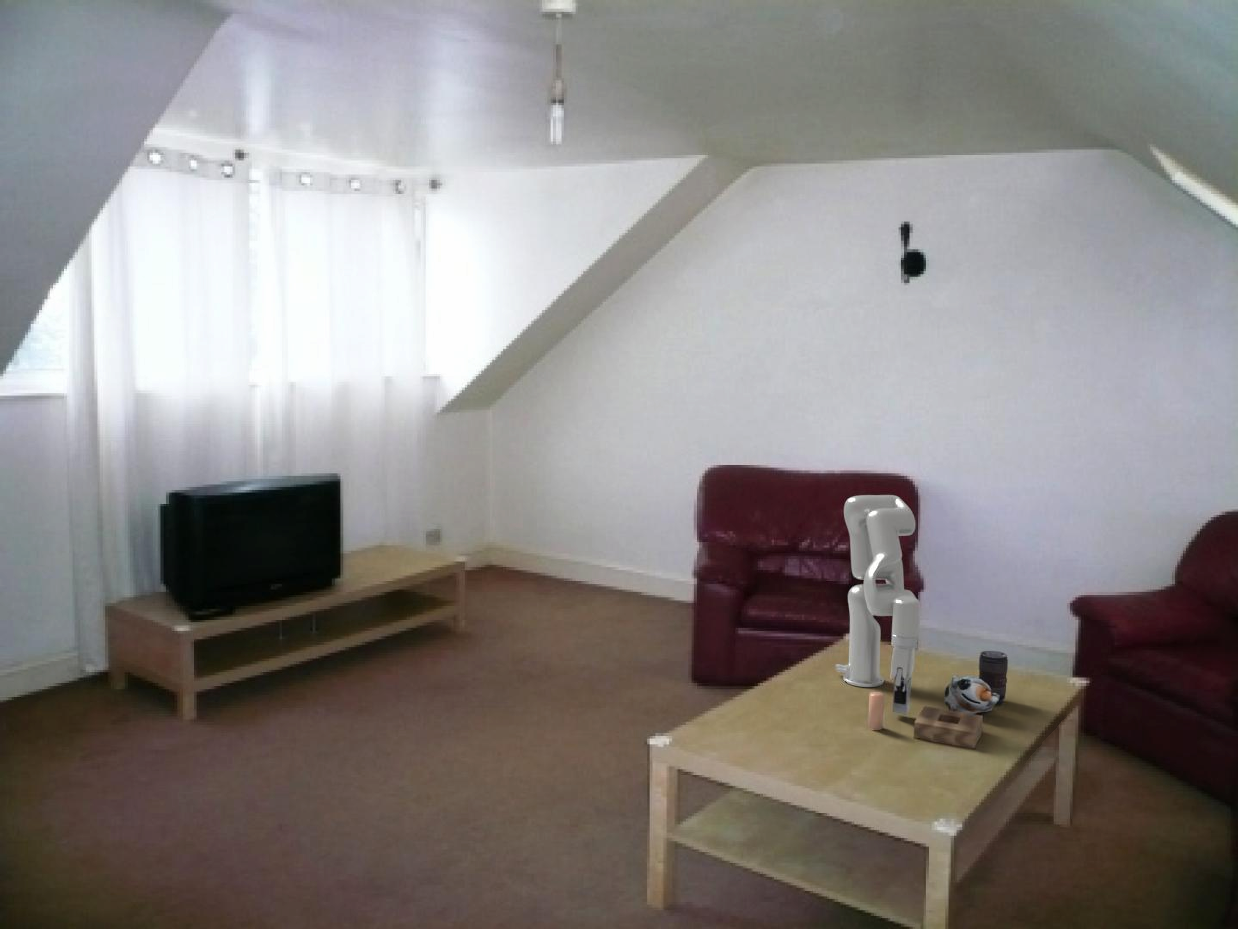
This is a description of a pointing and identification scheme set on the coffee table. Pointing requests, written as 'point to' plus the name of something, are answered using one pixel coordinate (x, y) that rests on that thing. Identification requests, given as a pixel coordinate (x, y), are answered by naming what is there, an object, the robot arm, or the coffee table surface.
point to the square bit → (905, 708)
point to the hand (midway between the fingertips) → (901, 700)
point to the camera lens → (994, 672)
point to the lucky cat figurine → (969, 695)
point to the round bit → (876, 710)
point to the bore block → (948, 727)
